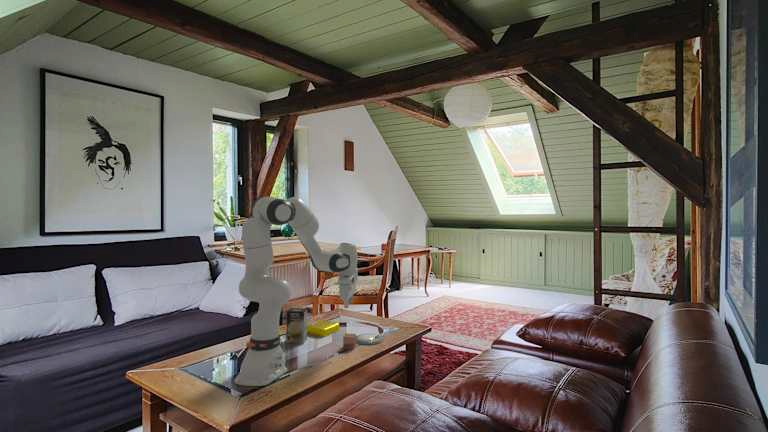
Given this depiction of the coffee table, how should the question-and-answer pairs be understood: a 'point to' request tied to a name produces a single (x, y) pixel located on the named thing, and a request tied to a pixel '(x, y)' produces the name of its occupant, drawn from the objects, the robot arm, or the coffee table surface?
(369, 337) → the dish
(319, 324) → the element tile
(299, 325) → the coffee box
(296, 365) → the coffee table surface
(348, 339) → the block
